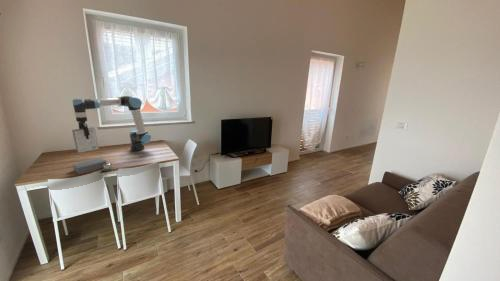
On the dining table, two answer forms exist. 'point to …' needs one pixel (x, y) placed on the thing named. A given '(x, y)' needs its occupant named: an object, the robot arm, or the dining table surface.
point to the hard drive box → (81, 142)
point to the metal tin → (107, 166)
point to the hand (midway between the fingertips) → (86, 141)
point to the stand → (88, 165)
